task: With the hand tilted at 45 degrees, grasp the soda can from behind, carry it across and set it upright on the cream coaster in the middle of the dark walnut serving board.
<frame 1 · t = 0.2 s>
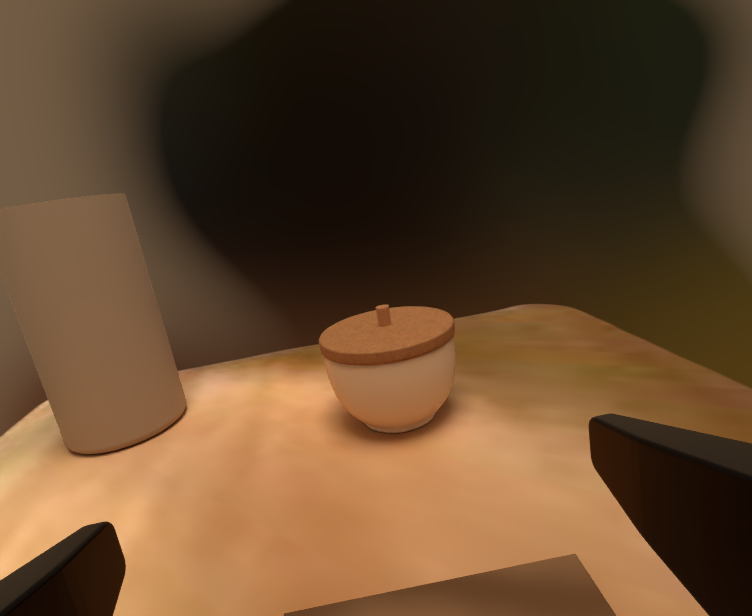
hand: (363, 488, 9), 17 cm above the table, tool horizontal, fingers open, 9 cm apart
lidded bowl: (400, 415, 46), on the table
cylinder vase: (131, 427, 53), on the table
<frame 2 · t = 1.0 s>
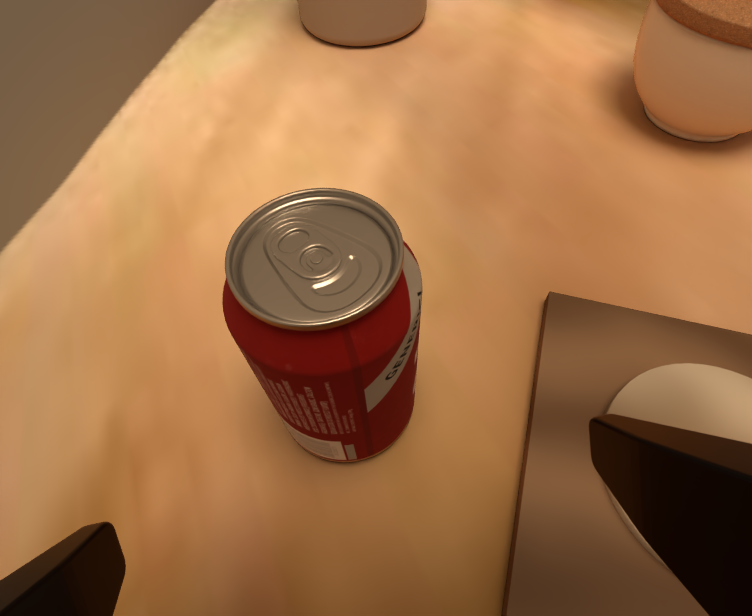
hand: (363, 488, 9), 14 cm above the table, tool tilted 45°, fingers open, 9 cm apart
soda can: (349, 401, 24), on the table
lidded bowl: (691, 115, 36), on the table
walnut serving board: (703, 478, 21), on the table
cylinder vase: (363, 19, 47), on the table
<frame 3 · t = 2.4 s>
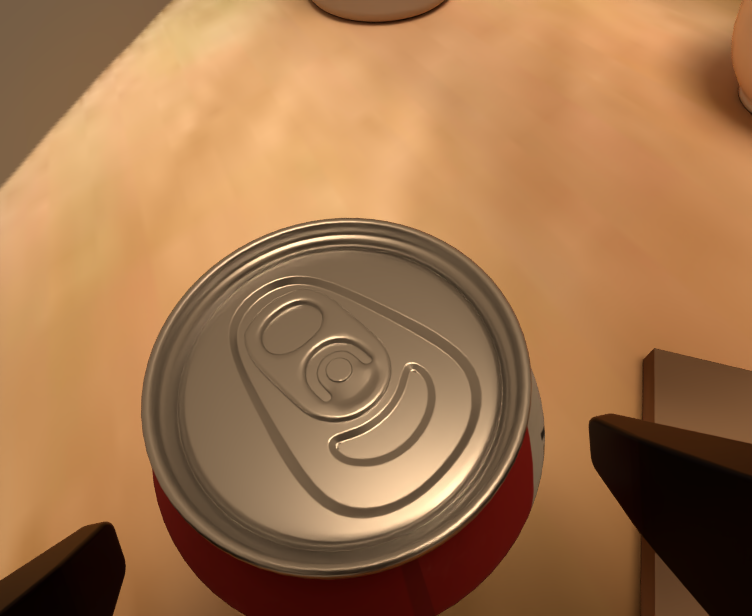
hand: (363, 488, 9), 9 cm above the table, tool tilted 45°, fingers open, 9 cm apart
soda can: (373, 512, 17), on the table
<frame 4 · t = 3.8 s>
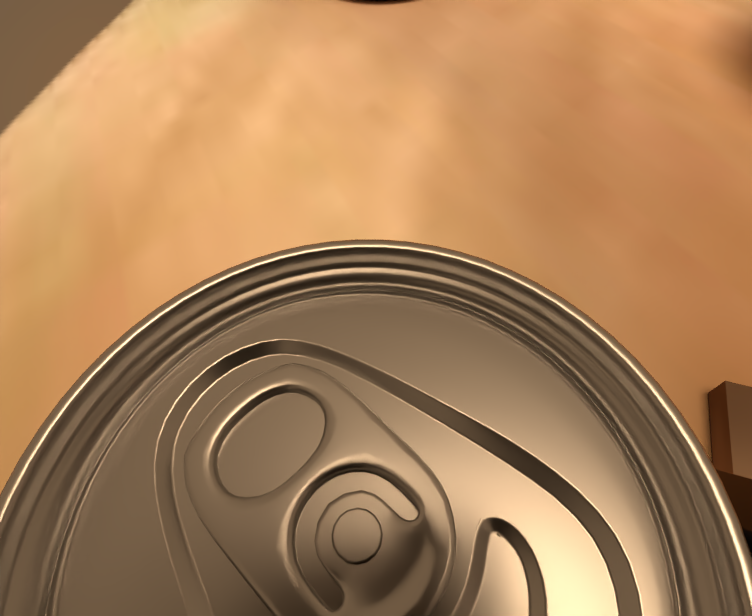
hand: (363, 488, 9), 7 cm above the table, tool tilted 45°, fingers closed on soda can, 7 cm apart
soda can: (385, 588, 14), on the table, touching gripper
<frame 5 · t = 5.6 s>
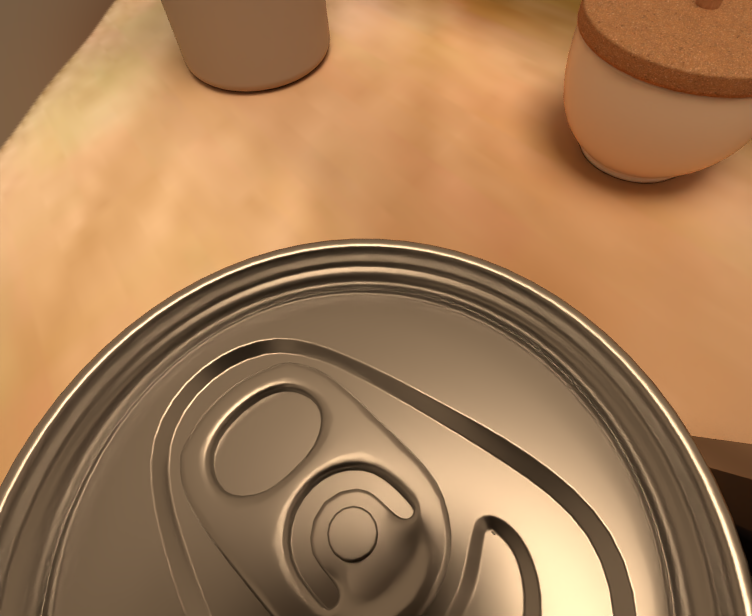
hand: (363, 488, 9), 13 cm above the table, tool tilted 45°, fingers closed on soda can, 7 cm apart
soda can: (384, 586, 14), point 6 cm above the table, touching gripper
lidded bowl: (631, 149, 33), on the table
cylinder vase: (260, 55, 41), on the table
when the fingers open (10 cm above the table, at t = 7.8 s): soda can drops 1 cm, resting on walnut serving board.
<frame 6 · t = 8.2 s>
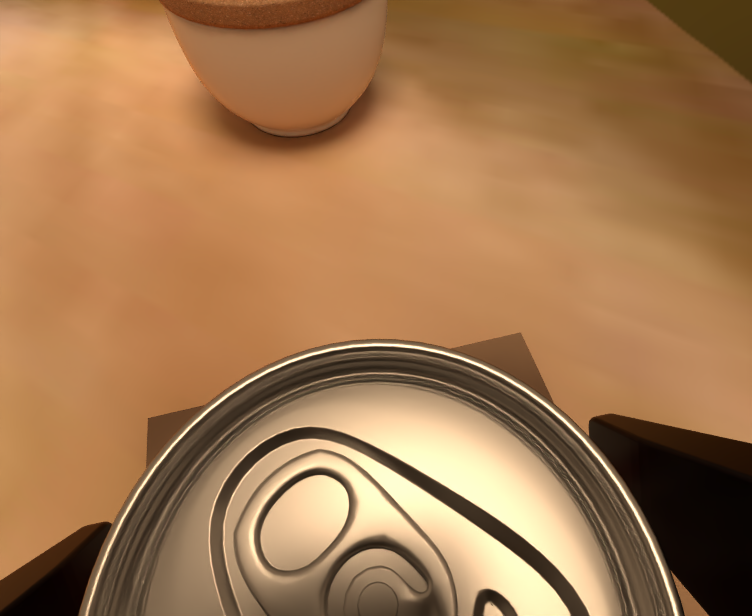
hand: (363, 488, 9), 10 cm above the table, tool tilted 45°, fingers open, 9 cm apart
soda can: (387, 594, 15), point 2 cm above the table, touching walnut serving board
lidded bowl: (299, 106, 32), on the table
walnut serving board: (387, 590, 16), on the table
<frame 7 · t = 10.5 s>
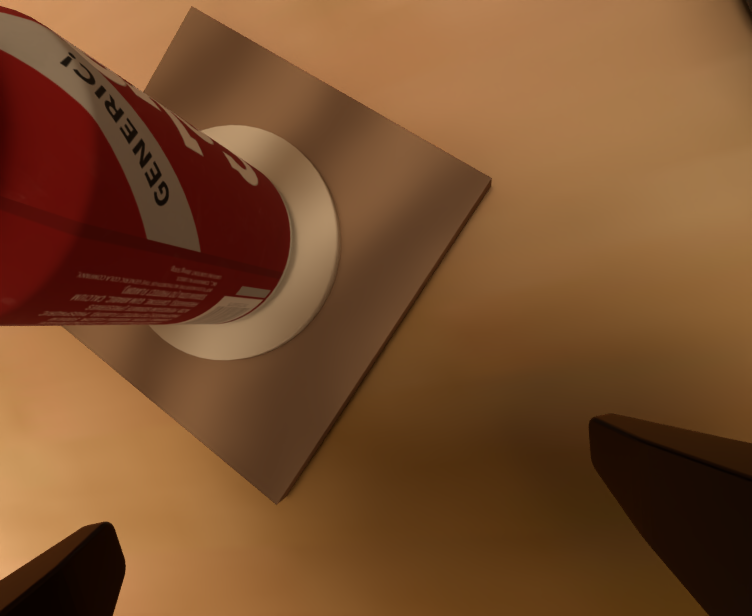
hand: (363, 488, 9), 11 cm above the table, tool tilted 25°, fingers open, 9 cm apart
soda can: (227, 245, 20), point 2 cm above the table, touching walnut serving board
walnut serving board: (243, 248, 21), on the table
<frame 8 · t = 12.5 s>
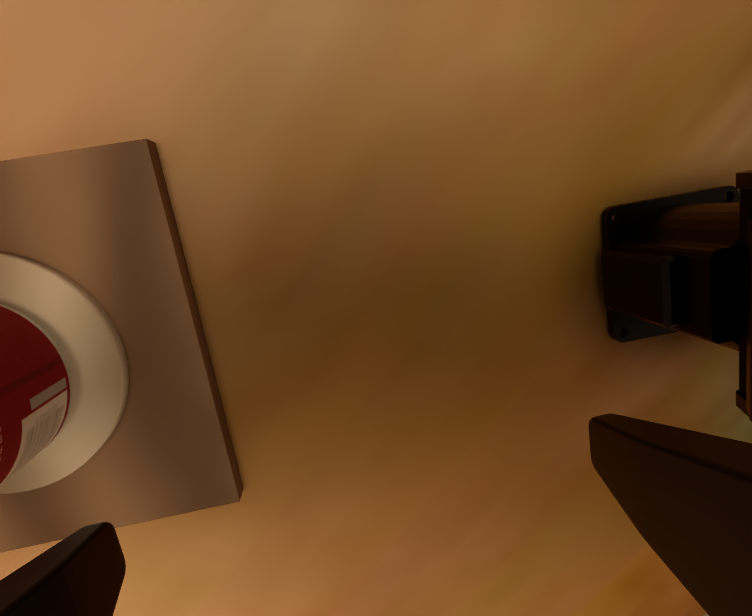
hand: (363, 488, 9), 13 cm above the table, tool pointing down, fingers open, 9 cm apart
walnut serving board: (15, 364, 20), on the table
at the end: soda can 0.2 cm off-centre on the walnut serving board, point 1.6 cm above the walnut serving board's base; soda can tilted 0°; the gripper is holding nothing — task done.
